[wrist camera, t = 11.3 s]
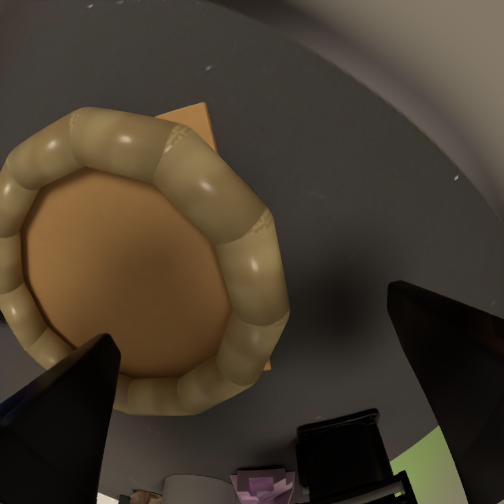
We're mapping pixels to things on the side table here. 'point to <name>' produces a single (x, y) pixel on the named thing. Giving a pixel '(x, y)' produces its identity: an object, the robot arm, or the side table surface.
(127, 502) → the walkie-talkie
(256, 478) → the purple jagged faceted chunk
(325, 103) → the side table surface
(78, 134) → the segmented tan ring
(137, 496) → the figurine
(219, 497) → the cup
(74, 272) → the mat
